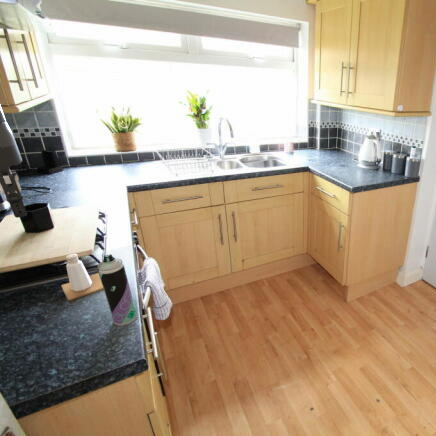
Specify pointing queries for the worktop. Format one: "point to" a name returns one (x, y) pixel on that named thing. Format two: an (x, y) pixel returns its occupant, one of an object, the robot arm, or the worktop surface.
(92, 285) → the cork mat
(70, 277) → the pepper shaker
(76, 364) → the worktop surface
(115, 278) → the spray can
